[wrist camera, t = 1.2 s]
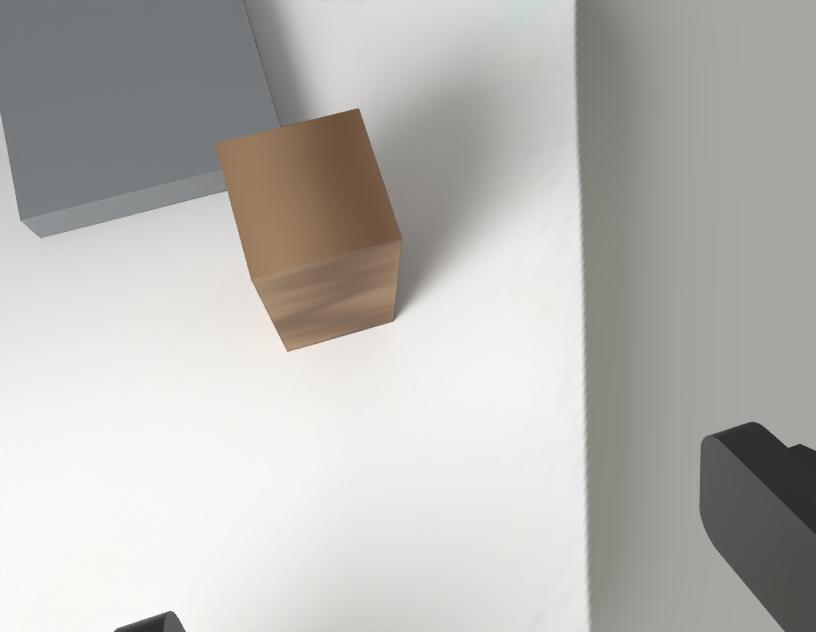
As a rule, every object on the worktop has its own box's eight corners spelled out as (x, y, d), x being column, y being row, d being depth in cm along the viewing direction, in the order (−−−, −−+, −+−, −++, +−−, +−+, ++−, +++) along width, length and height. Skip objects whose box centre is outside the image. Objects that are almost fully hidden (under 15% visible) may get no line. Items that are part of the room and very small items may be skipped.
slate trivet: (40, 237, 33) (20, 220, 31) (0, 25, 36) (-20, -3, 34) (293, 173, 35) (288, 153, 33) (234, -25, 38) (227, -55, 36)
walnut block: (287, 351, 32) (251, 279, 23) (260, 252, 34) (214, 143, 24) (393, 321, 33) (401, 238, 23) (362, 224, 34) (359, 108, 25)
